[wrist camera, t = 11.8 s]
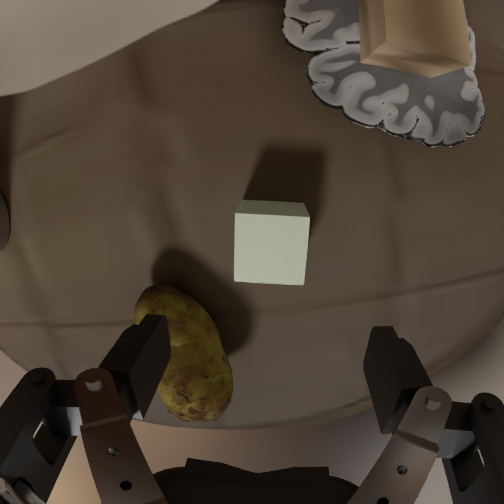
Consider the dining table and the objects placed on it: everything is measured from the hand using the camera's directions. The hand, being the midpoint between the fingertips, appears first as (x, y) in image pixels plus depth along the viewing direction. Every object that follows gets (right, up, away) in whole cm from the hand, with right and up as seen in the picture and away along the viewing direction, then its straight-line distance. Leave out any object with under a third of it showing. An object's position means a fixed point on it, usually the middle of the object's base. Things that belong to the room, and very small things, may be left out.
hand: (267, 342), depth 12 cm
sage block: (+1, +5, +15) cm, 16 cm away
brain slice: (+11, +21, +9) cm, 25 cm away
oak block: (+10, +20, +6) cm, 23 cm away
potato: (-6, -5, +19) cm, 21 cm away
